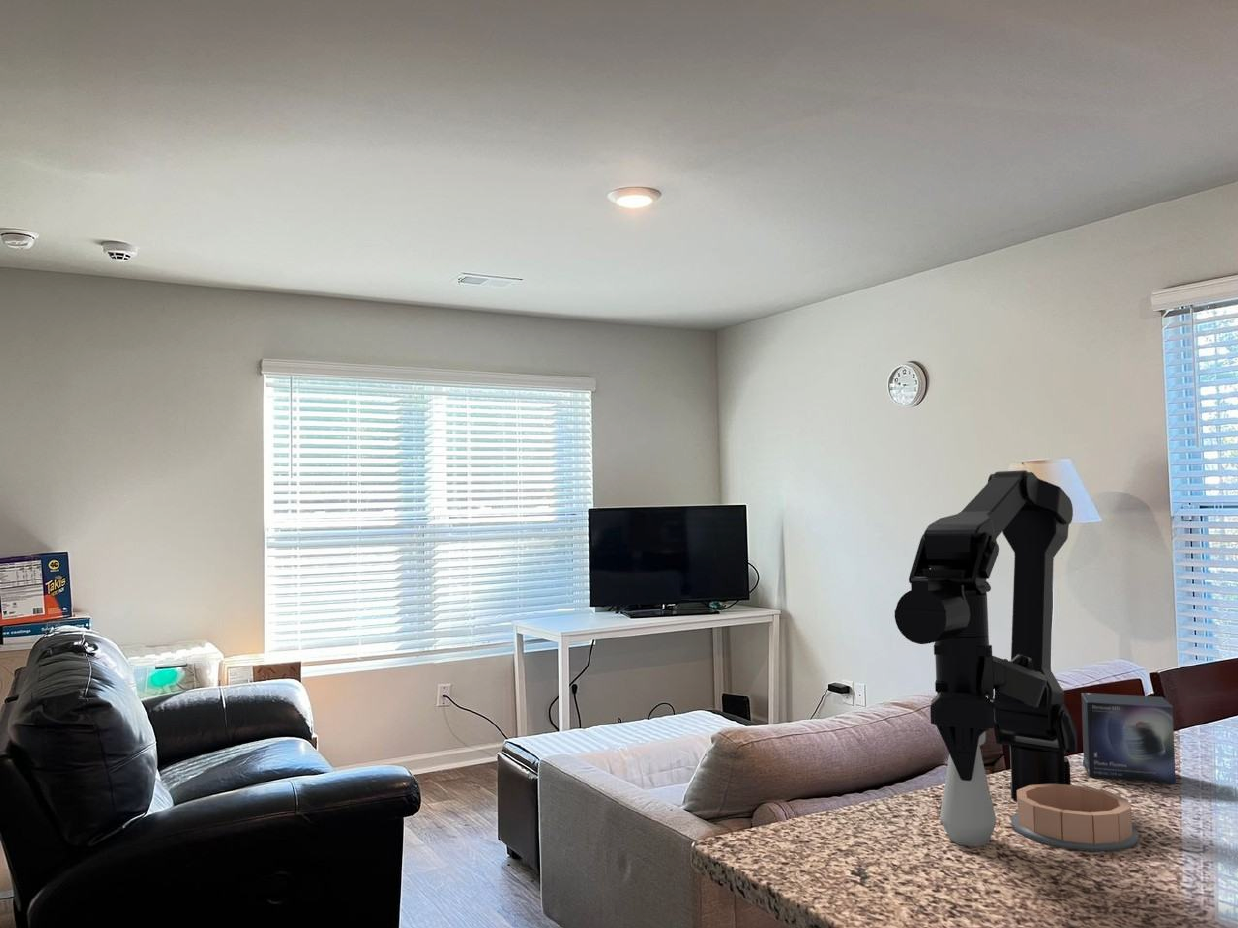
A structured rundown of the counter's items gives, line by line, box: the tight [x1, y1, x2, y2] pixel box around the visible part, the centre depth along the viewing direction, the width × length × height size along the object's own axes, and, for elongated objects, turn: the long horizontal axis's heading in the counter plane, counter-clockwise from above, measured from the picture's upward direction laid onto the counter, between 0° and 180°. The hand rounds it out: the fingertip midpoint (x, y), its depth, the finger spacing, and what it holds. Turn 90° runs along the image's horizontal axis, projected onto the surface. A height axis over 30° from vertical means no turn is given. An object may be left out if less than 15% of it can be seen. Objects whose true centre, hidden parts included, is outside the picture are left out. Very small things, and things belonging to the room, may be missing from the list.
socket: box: [1010, 784, 1140, 852], centre depth 104 cm, size 13×13×4 cm
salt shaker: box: [939, 731, 997, 848], centre depth 102 cm, size 6×6×13 cm
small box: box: [1080, 692, 1177, 785], centre depth 126 cm, size 11×6×10 cm, turn 70°
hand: (966, 775), depth 102 cm, fingers closed on salt shaker, 4 cm apart
